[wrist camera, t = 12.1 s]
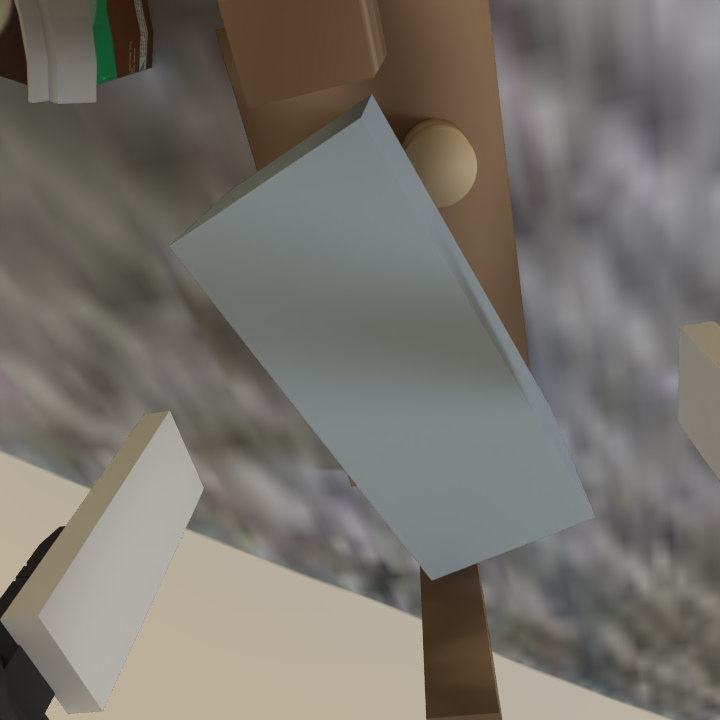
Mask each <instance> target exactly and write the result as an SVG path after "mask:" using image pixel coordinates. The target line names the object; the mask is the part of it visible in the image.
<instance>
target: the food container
mask: <svg viewBox="0 0 720 720" xmlns="http://www.w3.org/2000/svg"><path fill="white" fill-rule="evenodd" d="M152 49H153V29H152V23H151V18H150V13H149V8H148V2H147V0H0V76H2V77H5V78H8V79H11V80H14V81H17V82H21V83H24V84H27V85H28V102H31V103H36V102H43V101H51V102H53V103H56V104H69V103H92V102H96V85H98V84H101V83H105V82H108V81H111V80H114V79H117V78H120V77H124V76H127V75H130V74H133V73H136V72H140V71H143V70H146V69H149V68H152Z"/></svg>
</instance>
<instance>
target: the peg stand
mask: <svg viewBox="0 0 720 720" xmlns="http://www.w3.org/2000/svg"><path fill="white" fill-rule="evenodd" d="M217 2H218V5H219V9H220V12H221V16H222V19H223V23H224V26H225V28H223V29H219V30H216V34H217V37H218V40H219V44H220V47H221V51H222V54H223V57H224V61H225V64H226V67H227V71H228V74H229V77H230V81H231V84H232V87H233V91H234V94H235V97H236V101H237V104H238V108H239V111H240V114H241V118H242V121H243V124H244V128H245V131H246V134H247V138H248V141H249V144H250V148H251V151H252V154H253V158H254V161H255V164H256V168H257V171H259V170H261V169H262V168H264V167H265V166H267V165H268V164H270V163H271V162H273V161H274V160H276V159H277V158H279V157H280V156H282V155H283V154H284V153H286V152H287V151H289V150H290V149H292V148H293V147H295V146H296V145H298V144H299V143H301V142H302V141H304V140H305V139H306V138H308V137H309V136H311V135H312V134H314V133H315V132H317V131H318V130H320V129H321V128H323V127H324V126H326V125H327V124H329V123H330V122H331V121H333V120H334V119H336V118H337V117H339V116H340V115H342V114H343V113H345V112H346V111H348V110H349V109H351V108H352V107H353V106H355V105H356V104H358V103H359V102H361V101H362V100H364V99H365V98H367V97H368V96H370V95H371V94H372V95H373V97H374V99H375V100H376V102H377V104H378V106H379V107H380V109H381V111H382V113H383V114H384V116H385V118H386V120H387V121H388V123H389V125H390V127H391V128H392V130H393V132H394V134H395V136H396V137H397V139H398V141H399V143H400V144H401V146H402V148H403V150H404V151H405V153H406V155H407V157H408V158H409V160H410V162H411V164H412V165H413V167H414V169H415V171H416V172H417V174H418V176H419V178H420V179H421V181H422V183H423V185H424V186H425V188H426V190H427V192H428V194H429V195H430V197H431V199H432V201H433V202H434V204H435V206H436V208H437V209H438V211H439V213H440V215H441V216H442V218H443V220H444V222H445V223H446V225H447V227H448V229H449V230H450V232H451V234H452V236H453V237H454V239H455V241H456V243H457V244H458V246H459V248H460V250H461V252H462V253H463V255H464V257H465V259H466V260H467V262H468V264H469V266H470V267H471V269H472V271H473V273H474V274H475V276H476V278H477V280H478V281H479V283H480V285H481V287H482V288H483V290H484V292H485V294H486V295H487V297H488V299H489V301H490V302H491V304H492V306H493V308H494V310H495V311H496V313H497V315H498V317H499V318H500V320H501V322H502V324H503V325H504V327H505V329H506V331H507V332H508V334H509V336H510V338H511V339H512V341H513V343H514V345H515V346H516V348H517V350H518V352H519V353H520V355H521V357H522V359H523V360H524V362H525V364H526V366H527V368H528V369H529V360H528V351H527V342H526V333H525V324H524V315H523V306H522V297H521V288H520V279H519V270H518V261H517V252H516V243H515V234H514V225H513V216H512V207H511V198H510V189H509V180H508V171H507V162H506V153H505V144H504V135H503V126H502V117H501V108H500V99H499V90H498V81H497V72H496V63H495V54H494V45H493V36H492V27H491V18H490V9H489V0H217ZM529 371H530V369H529ZM348 476H349V475H348ZM349 480H350V483H351V486H357V485H356V484H355V482H354V481H353V480H352V479H351V477H350V476H349ZM420 578H421V602H422V625H423V650H424V675H425V697H426V698H425V699H426V719H427V720H502V714H501V708H500V701H499V695H498V689H497V682H496V675H495V668H494V663H493V655H492V649H491V642H490V636H489V629H488V623H487V616H486V609H485V603H484V596H483V590H482V583H481V577H480V570H479V564H478V563H476V564H473V565H471V566H468V567H466V568H463V569H460V570H458V571H455V572H453V573H450V574H448V575H445V576H442V577H440V578H437V579H435V580H431V579H430V578H429V576H428V575H427V574H426V573H425V571H424V570H423V569H422V568H421V566H420Z"/></svg>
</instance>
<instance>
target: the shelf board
mask: <svg viewBox="0 0 720 720" xmlns="http://www.w3.org/2000/svg"><path fill="white" fill-rule="evenodd" d="M169 248H170V249H171V250H172V251H173V253H174V254H175V255H176V256H177V258H178V259H179V260H180V262H181V263H182V264H183V265H184V267H185V268H186V269H187V270H188V272H189V273H190V274H191V275H192V277H193V278H194V279H195V281H196V282H197V283H198V284H199V286H200V287H201V288H202V289H203V291H204V292H205V293H206V295H207V296H208V297H209V298H210V300H211V301H212V302H213V303H214V305H215V306H216V307H217V309H218V310H219V311H220V312H221V314H222V315H223V316H224V317H225V319H226V320H227V321H228V322H229V324H230V325H231V326H232V328H233V329H234V330H235V331H236V333H237V334H238V335H239V336H240V338H241V339H242V340H243V342H244V343H245V344H246V345H247V347H248V348H249V349H250V350H251V352H252V353H253V354H254V356H255V357H256V358H257V359H258V361H259V362H260V363H261V364H262V366H263V367H264V368H265V369H266V371H267V372H268V373H269V375H270V376H271V377H272V378H273V380H274V381H275V382H276V383H277V385H278V386H279V387H280V389H281V390H282V391H283V392H284V394H285V395H286V396H287V397H288V399H289V400H290V401H291V402H292V404H293V405H294V406H295V408H296V409H297V410H298V411H299V413H300V414H301V415H302V416H303V418H304V419H305V420H306V422H307V423H308V424H309V425H310V427H311V428H312V429H313V430H314V432H315V433H316V434H317V436H318V437H319V438H320V439H321V441H322V442H323V443H324V444H325V446H326V447H327V448H328V449H329V451H330V452H331V453H332V455H333V456H334V457H335V458H336V460H337V461H338V462H339V463H340V465H341V466H342V467H343V469H344V470H345V471H346V472H347V474H348V475H349V476H350V477H351V479H352V480H353V481H354V482H355V484H356V485H357V486H358V488H359V489H360V490H361V491H362V493H363V494H364V495H365V496H366V498H367V499H368V500H369V502H370V503H371V504H372V505H373V507H374V508H375V509H376V510H377V512H378V513H379V514H380V516H381V517H382V518H383V519H384V521H385V522H386V523H387V524H388V526H389V527H390V528H391V529H392V531H393V532H394V533H395V535H396V536H397V537H398V538H399V540H400V541H401V542H402V543H403V545H404V546H405V547H406V549H407V550H408V551H409V552H410V554H411V555H412V556H413V557H414V559H415V560H416V561H417V562H418V564H419V565H420V566H421V568H422V569H423V570H424V571H425V573H426V574H427V575H428V576H429V578H430V579H431V580H435V579H437V578H440V577H442V576H445V575H448V574H450V573H453V572H455V571H458V570H460V569H463V568H466V567H468V566H471V565H473V564H476V563H479V562H481V561H484V560H486V559H489V558H492V557H494V556H497V555H499V554H502V553H505V552H507V551H510V550H512V549H515V548H517V547H520V546H523V545H525V544H528V543H530V542H533V541H536V540H538V539H541V538H543V537H546V536H549V535H551V534H554V533H556V532H559V531H562V530H564V529H567V528H569V527H572V526H574V525H577V524H580V523H582V522H585V521H587V520H590V519H593V518H595V516H594V513H593V511H592V508H591V506H590V503H589V501H588V498H587V496H586V494H585V491H584V489H583V486H582V484H581V481H580V479H579V476H578V474H577V472H576V469H575V467H574V464H573V462H572V459H571V457H570V455H569V452H568V450H567V447H566V445H565V442H564V440H563V437H562V435H561V433H560V430H559V428H558V425H557V423H556V420H555V418H554V416H553V413H552V411H551V408H550V406H549V404H548V403H547V401H546V399H545V397H544V396H543V394H542V392H541V390H540V389H539V387H538V385H537V383H536V382H535V380H534V378H533V376H532V375H531V373H530V371H529V369H528V368H527V366H526V364H525V362H524V360H523V359H522V357H521V355H520V353H519V352H518V350H517V348H516V346H515V345H514V343H513V341H512V339H511V338H510V336H509V334H508V332H507V331H506V329H505V327H504V325H503V324H502V322H501V320H500V318H499V317H498V315H497V313H496V311H495V310H494V308H493V306H492V304H491V302H490V301H489V299H488V297H487V295H486V294H485V292H484V290H483V288H482V287H481V285H480V283H479V281H478V280H477V278H476V276H475V274H474V273H473V271H472V269H471V267H470V266H469V264H468V262H467V260H466V259H465V257H464V255H463V253H462V252H461V250H460V248H459V246H458V244H457V243H456V241H455V239H454V237H453V236H452V234H451V232H450V230H449V229H448V227H447V225H446V223H445V222H444V220H443V218H442V216H441V215H440V213H439V211H438V209H437V208H436V206H435V204H434V202H433V201H432V199H431V197H430V195H429V194H428V192H427V190H426V188H425V186H424V185H423V183H422V181H421V179H420V178H419V176H418V174H417V172H416V171H415V169H414V167H413V165H412V164H411V162H410V160H409V158H408V157H407V155H406V153H405V151H404V150H403V148H402V146H401V144H400V143H399V141H398V139H397V137H396V136H395V134H394V132H393V130H392V128H391V127H390V125H389V123H388V121H387V120H386V118H385V116H384V114H383V113H382V111H381V109H380V107H379V106H378V104H377V102H376V100H375V99H374V97H373V95H372V94H371V95H370V96H368V97H367V98H365V99H364V100H362V101H361V102H359V103H358V104H356V105H355V106H353V107H352V108H351V109H349V110H348V111H346V112H345V113H343V114H342V115H340V116H339V117H337V118H336V119H334V120H333V121H331V122H330V123H329V124H327V125H326V126H324V127H323V128H321V129H320V130H318V131H317V132H315V133H314V134H312V135H311V136H309V137H308V138H306V139H305V140H304V141H302V142H301V143H299V144H298V145H296V146H295V147H293V148H292V149H290V150H289V151H287V152H286V153H284V154H283V155H282V156H280V157H279V158H277V159H276V160H274V161H273V162H271V163H270V164H268V165H267V166H265V167H264V168H262V169H261V170H259V171H258V172H257V173H255V174H254V175H252V176H251V177H249V178H248V179H246V180H245V181H243V182H242V183H240V184H239V185H237V186H236V187H235V188H233V189H232V190H230V191H229V192H228V193H227V194H226V195H225V196H224V197H222V198H221V199H220V200H219V201H218V202H217V203H216V204H215V205H214V206H213V207H212V208H210V209H209V210H208V211H207V212H206V213H205V214H204V215H203V216H202V217H201V218H199V219H198V220H197V221H196V222H195V223H194V224H193V225H192V226H191V227H190V228H189V229H187V230H186V231H185V232H184V233H183V234H182V235H181V236H180V237H179V238H178V239H177V240H175V241H174V242H173V243H172V244H171V245H170V246H169Z"/></svg>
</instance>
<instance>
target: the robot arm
mask: <svg viewBox="0 0 720 720" xmlns="http://www.w3.org/2000/svg"><path fill="white" fill-rule="evenodd" d="M678 423H679V424H680V426H681V427H682V429H683V430H684V431H685V433H686V434H687V436H688V437H689V438H690V440H691V441H692V443H693V444H694V445H695V447H696V448H697V450H698V451H699V452H700V454H701V455H702V457H703V458H704V459H705V461H706V462H707V464H708V465H709V466H710V468H711V469H712V471H713V472H714V474H715V475H716V476H717V478H718V479H719V481H720V326H719V325H718V324H717V323H716V322H715V321H710V322H704V323H698V324H691V325H685V326H679V386H678ZM203 489H204V488H203V485H202V483H201V481H200V479H199V476H198V474H197V472H196V469H195V467H194V465H193V463H192V460H191V458H190V456H189V453H188V451H187V449H186V447H185V444H184V442H183V440H182V437H181V435H180V433H179V431H178V428H177V426H176V424H175V421H174V419H173V417H172V415H171V412H170V410H169V411H163V412H157V413H151V414H145V415H143V417H142V418H141V420H140V421H139V423H138V424H137V425H136V427H135V428H134V430H133V431H132V433H131V434H130V435H129V437H128V438H127V440H126V441H125V442H124V444H123V445H122V447H121V448H120V450H119V451H118V452H117V454H116V455H115V457H114V458H113V460H112V461H111V462H110V464H109V465H108V467H107V468H106V469H105V471H104V472H103V474H102V475H101V477H100V478H99V479H98V481H97V482H96V484H95V485H94V487H93V488H92V489H91V491H90V492H89V494H88V495H87V497H86V498H85V499H84V501H83V502H82V504H81V505H80V506H79V508H78V509H77V511H76V512H75V514H74V515H73V517H72V518H71V519H70V521H69V522H68V524H67V525H66V526H62V527H59V528H58V529H57V530H55V531H54V532H53V533H52V534H51V535H50V536H49V537H48V538H46V539H45V540H44V541H43V542H42V543H41V544H40V545H39V546H38V548H37V549H36V550H35V552H34V553H33V554H32V556H31V557H30V558H29V560H28V561H27V566H24V567H23V568H22V570H21V571H20V572H19V574H18V575H17V576H16V581H13V582H12V583H11V585H10V586H9V587H8V589H7V590H6V591H5V593H4V594H3V595H2V597H1V598H0V720H49V719H48V717H47V716H46V715H45V712H46V710H47V708H48V706H49V704H50V703H51V700H52V699H53V697H54V695H55V697H56V698H57V699H58V701H59V702H60V704H61V705H62V706H63V708H64V709H65V711H66V712H67V713H68V714H74V713H87V712H99V711H103V710H104V708H105V705H106V703H107V701H108V699H109V697H110V694H111V692H112V690H113V688H114V686H115V683H116V681H117V679H118V677H119V675H120V672H121V670H122V668H123V666H124V663H125V661H126V659H127V656H128V655H129V652H130V650H131V648H132V646H133V644H134V641H135V639H136V637H137V635H138V633H139V630H140V628H141V626H142V624H143V622H144V619H145V617H146V615H147V613H148V610H149V608H150V606H151V604H152V602H153V600H154V597H155V595H156V593H157V591H158V588H159V586H160V584H161V582H162V580H163V577H164V575H165V573H166V571H167V569H168V566H169V564H170V562H171V560H172V558H173V555H174V553H175V551H176V549H177V547H178V544H179V542H180V540H181V538H182V535H183V533H184V531H185V529H186V527H187V525H188V522H189V520H190V518H191V516H192V514H193V511H194V509H195V507H196V505H197V503H198V500H199V498H200V496H201V494H202V491H203Z"/></svg>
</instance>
